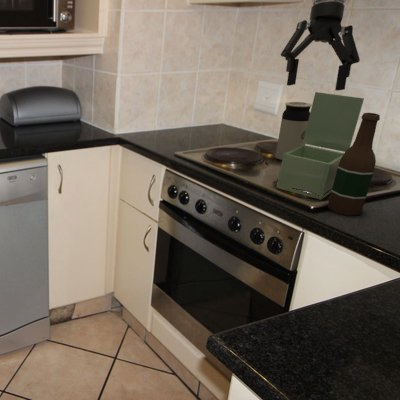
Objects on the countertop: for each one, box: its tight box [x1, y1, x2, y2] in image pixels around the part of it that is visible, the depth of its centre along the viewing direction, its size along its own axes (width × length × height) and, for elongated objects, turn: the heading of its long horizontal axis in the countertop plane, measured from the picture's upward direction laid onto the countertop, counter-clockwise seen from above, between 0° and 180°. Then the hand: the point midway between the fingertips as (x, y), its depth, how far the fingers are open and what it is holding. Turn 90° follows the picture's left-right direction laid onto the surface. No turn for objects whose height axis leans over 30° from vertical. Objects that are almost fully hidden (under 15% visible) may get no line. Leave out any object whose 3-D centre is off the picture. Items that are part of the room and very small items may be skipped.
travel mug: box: [275, 101, 313, 161], centre depth 153 cm, size 8×8×18 cm
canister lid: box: [303, 91, 365, 153], centre depth 130 cm, size 14×12×1 cm
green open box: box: [275, 144, 345, 201], centre depth 130 cm, size 14×12×10 cm
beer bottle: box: [327, 112, 381, 217], centre depth 114 cm, size 8×8×24 cm
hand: (315, 87), depth 127 cm, fingers open, 13 cm apart
